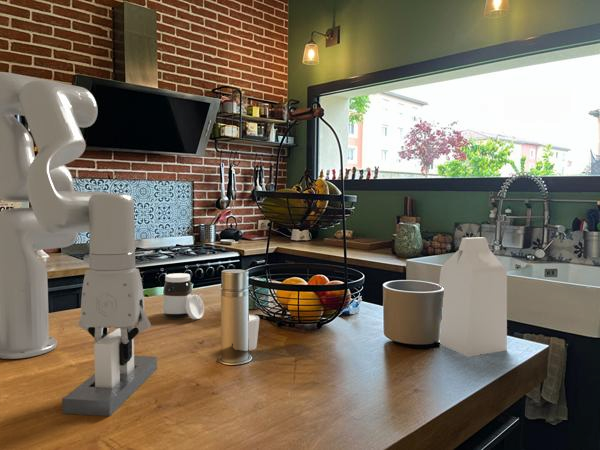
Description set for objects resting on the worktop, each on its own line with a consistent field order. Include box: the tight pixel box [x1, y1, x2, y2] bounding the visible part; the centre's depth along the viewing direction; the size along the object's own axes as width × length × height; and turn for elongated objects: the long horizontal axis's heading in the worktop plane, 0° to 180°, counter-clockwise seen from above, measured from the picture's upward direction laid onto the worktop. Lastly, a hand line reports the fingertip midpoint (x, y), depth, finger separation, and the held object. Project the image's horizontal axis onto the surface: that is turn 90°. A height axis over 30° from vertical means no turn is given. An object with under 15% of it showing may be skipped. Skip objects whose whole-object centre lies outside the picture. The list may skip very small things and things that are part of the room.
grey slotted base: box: [61, 355, 158, 417], centre depth 87 cm, size 8×20×2 cm, turn 175°
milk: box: [438, 236, 508, 358], centre depth 113 cm, size 12×12×26 cm
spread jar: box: [162, 272, 205, 321], centre depth 134 cm, size 12×11×12 cm
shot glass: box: [248, 313, 260, 352], centre depth 110 cm, size 7×7×7 cm
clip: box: [93, 328, 135, 388], centre depth 86 cm, size 3×9×8 cm, turn 175°
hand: (115, 361), depth 86 cm, fingers closed on clip, 3 cm apart
